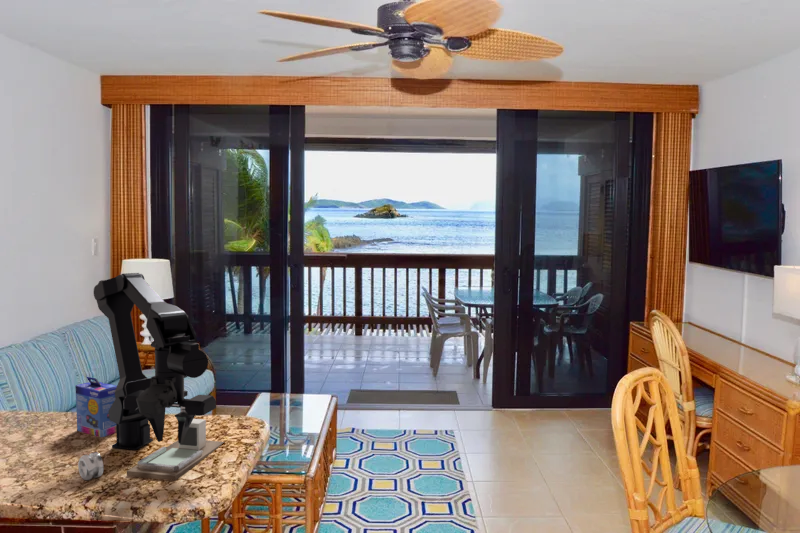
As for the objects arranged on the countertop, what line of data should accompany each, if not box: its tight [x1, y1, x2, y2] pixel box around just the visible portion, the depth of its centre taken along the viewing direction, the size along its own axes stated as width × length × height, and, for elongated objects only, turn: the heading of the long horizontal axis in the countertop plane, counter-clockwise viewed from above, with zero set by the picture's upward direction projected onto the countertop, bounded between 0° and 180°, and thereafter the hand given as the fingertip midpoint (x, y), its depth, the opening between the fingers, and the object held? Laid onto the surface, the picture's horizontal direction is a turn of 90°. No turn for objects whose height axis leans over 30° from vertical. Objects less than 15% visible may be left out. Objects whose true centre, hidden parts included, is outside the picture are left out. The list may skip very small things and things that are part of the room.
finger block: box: [179, 418, 207, 450], centre depth 136 cm, size 5×3×6 cm
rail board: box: [126, 439, 225, 481], centre depth 131 cm, size 11×20×1 cm, turn 168°
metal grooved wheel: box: [77, 451, 104, 481], centre depth 122 cm, size 5×3×5 cm, turn 51°
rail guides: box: [137, 446, 202, 472], centre depth 128 cm, size 10×10×1 cm
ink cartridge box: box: [75, 376, 117, 438], centre depth 148 cm, size 10×6×14 cm, turn 61°
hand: (170, 442), depth 128 cm, fingers open, 4 cm apart
